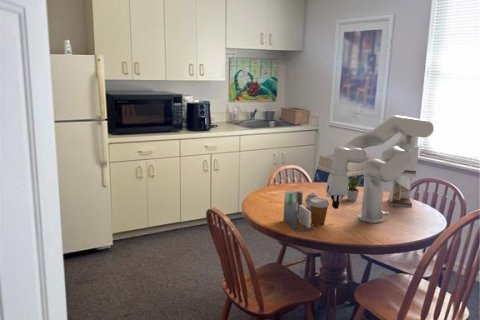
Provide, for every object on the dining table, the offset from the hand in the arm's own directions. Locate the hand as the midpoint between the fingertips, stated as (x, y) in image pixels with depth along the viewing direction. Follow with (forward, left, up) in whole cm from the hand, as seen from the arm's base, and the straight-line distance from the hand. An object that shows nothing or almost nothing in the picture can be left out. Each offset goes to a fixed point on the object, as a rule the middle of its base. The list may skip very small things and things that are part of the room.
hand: (335, 207), depth 202 cm
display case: (-54, -20, -8) cm, 58 cm away
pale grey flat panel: (+17, 0, -8) cm, 18 cm away
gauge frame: (+19, 0, -8) cm, 21 cm away
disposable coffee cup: (+9, 0, -8) cm, 12 cm away
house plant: (-30, -31, -8) cm, 44 cm away
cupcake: (+1, -22, -8) cm, 23 cm away
